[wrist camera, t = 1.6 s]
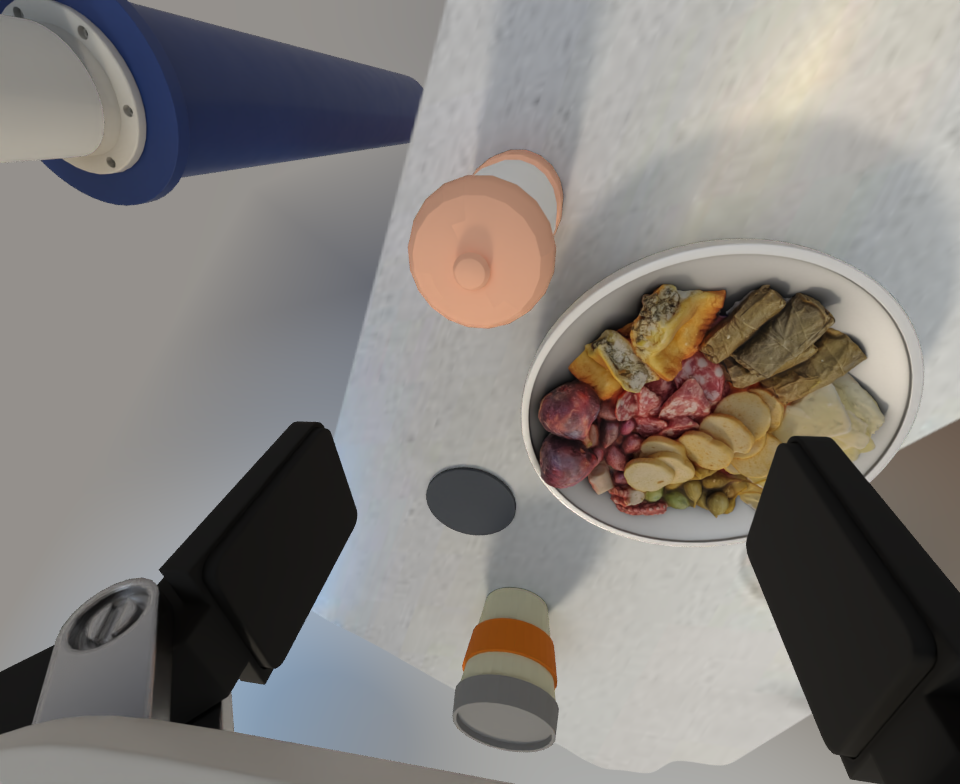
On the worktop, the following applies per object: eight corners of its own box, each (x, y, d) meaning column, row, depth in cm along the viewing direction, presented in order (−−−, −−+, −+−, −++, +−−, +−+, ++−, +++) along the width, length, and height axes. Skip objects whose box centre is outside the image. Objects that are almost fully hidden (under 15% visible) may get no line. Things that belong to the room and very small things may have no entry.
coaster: (420, 517, 56) (419, 520, 56) (435, 456, 50) (434, 458, 50) (502, 542, 56) (501, 545, 56) (527, 484, 50) (526, 486, 50)
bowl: (872, 151, 29) (960, 160, 22) (891, 476, 41) (951, 544, 35) (474, 312, 40) (455, 350, 33) (584, 531, 52) (586, 590, 46)
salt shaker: (456, 221, 36) (365, 304, 20) (497, 129, 32) (423, 141, 16) (533, 264, 37) (504, 378, 21) (582, 180, 33) (592, 239, 17)
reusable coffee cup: (486, 568, 59) (463, 689, 47) (573, 596, 59) (575, 725, 47) (465, 615, 66) (440, 731, 54) (543, 641, 66) (537, 762, 54)
